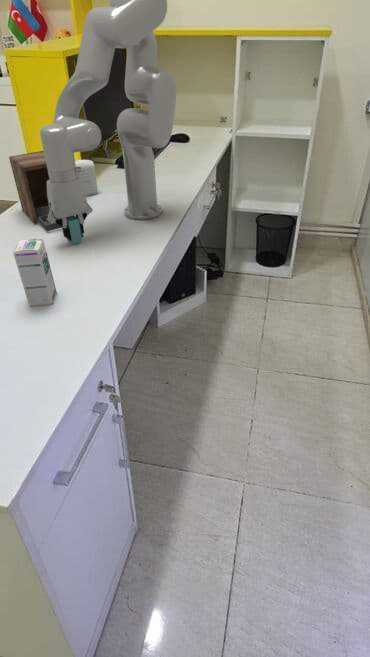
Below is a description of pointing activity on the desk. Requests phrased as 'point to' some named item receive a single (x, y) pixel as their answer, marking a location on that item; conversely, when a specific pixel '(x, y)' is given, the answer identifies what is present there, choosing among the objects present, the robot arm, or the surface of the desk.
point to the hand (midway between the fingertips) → (74, 236)
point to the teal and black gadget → (72, 224)
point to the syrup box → (35, 271)
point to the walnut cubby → (31, 181)
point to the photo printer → (87, 176)
